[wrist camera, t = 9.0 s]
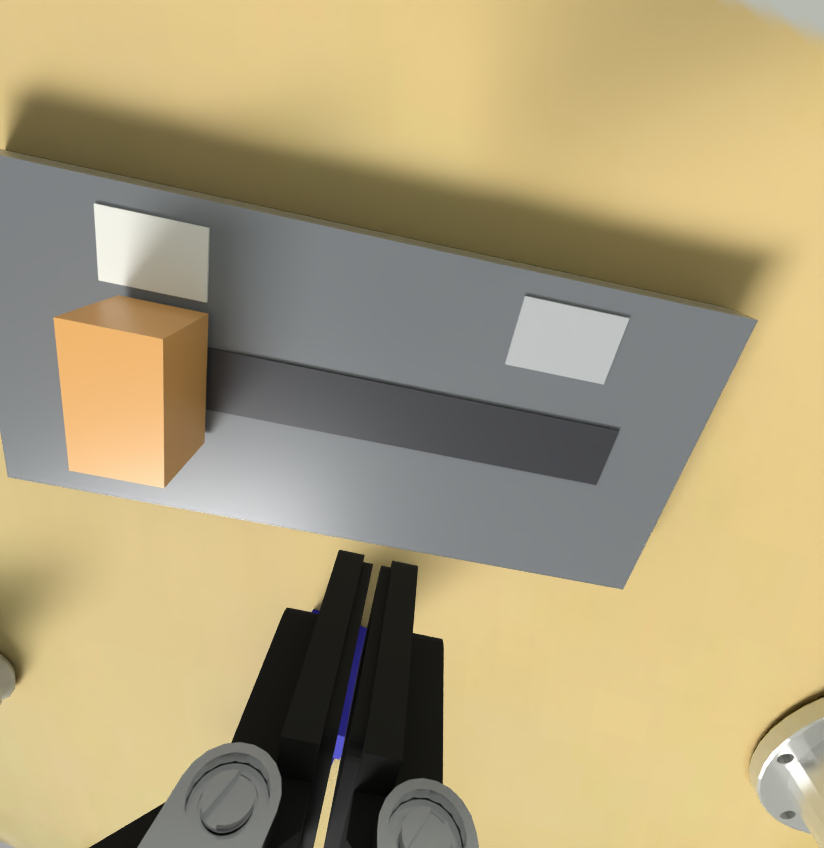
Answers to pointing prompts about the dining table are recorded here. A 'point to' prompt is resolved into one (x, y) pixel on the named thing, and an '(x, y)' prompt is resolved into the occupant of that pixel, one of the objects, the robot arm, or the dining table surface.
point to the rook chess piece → (6, 678)
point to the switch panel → (369, 374)
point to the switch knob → (132, 388)
